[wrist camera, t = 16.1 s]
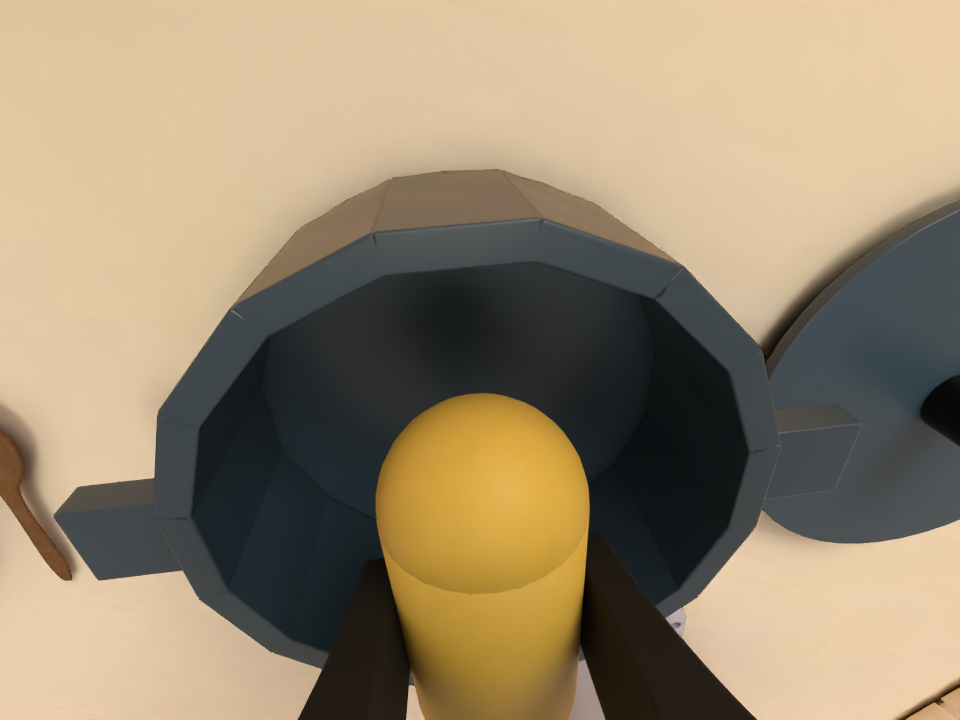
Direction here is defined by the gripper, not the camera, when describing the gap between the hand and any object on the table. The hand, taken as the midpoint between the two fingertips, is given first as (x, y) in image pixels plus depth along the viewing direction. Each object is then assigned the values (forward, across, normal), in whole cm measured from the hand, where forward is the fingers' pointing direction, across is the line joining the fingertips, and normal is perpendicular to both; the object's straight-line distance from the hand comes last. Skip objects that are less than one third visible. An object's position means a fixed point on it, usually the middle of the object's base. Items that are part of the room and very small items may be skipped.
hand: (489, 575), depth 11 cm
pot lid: (+7, -18, +2) cm, 19 cm away
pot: (+7, 0, 0) cm, 7 cm away
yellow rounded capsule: (+1, 0, 0) cm, 1 cm away
